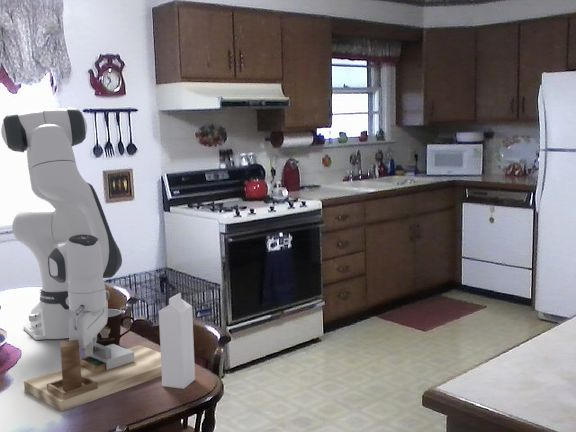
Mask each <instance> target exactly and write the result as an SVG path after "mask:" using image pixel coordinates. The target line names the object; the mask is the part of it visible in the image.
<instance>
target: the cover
mask: <svg viewBox="0 0 576 432" xmlns="http://www.w3.org/2000/svg"><path fill="white" fill-rule="evenodd" d="M128 349H129V348H125V347H122V346H120V345H119V346H118V345H115V344H111V345H108V346H103V345H100V344H98V343H96V351H95V353H94V354H93V355H92V356H90V357H93V358H95V359H98V360H100V361H102V362H105V363H106V370H109V369H112V368H115V367H118V366H121V365H124V364H127V363H131V362H134V361H135V357H134V352H133V351H131V350H128ZM85 356H86V355H85ZM86 357H89V356H86ZM86 357H85V358H86Z"/></svg>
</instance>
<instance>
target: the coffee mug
mask: <svg viewBox="0 0 576 432" xmlns="http://www.w3.org/2000/svg"><path fill="white" fill-rule="evenodd" d="M122 313H123V312H122V310H120V309H116V308H114V309H113V308H108V319H107V324H106V325H105V326H104V328H103V329H102V330H101V331H100V332H99V333H98V334H97V341H96V343H98V344H100V345H103V346H108V345H111V344H115V345H118V346H120V345H121V344H120V343H121V338H122V337H123V336H125V335H126V334H127V333H130V331H131V330H132V329H134V328H135V326H136V325H135V324H136V320H135V318H134V317H133V316H129V315H126V316H124V317H122ZM126 319H130V320H131V321H132V323H133V324H132V325H131V327H130V328H128V329H127V330H126V331H124V332H123V333H121V326H122V324H123V322H124V321H125V320H126Z"/></svg>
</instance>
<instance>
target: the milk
mask: <svg viewBox="0 0 576 432" xmlns="http://www.w3.org/2000/svg"><path fill="white" fill-rule="evenodd" d="M193 318H194V316H193V305H191V304H190V303H188V302H187V301H185V300H184V299H182V293H181V292H179V293H177V294H175V295H173V296H171V297H170V298H169V299H168V305H166V306H164V307H162V309H160V310H158V320H159V321H158V323H159V325H158V327H159V342H160V343H159V344H160V345H159V346H160V353H161V370H162V376H161V385H162V387H164V388H165V387H167V388H175V389H183V390H184V389H186V388H187V387H188V386H189V385H190V384H191V383H193V382H194V381H195V380H196V368H195V366H196V365H195V347H194V345H195V344H194V324H193V323H194V322H193Z"/></svg>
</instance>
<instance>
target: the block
mask: <svg viewBox="0 0 576 432" xmlns="http://www.w3.org/2000/svg"><path fill="white" fill-rule="evenodd" d="M59 349H60V361H61V369H62V379H63V391H65V392H67V391H70V390H73V389H76V388H79V387H82V380H81V365H80V359H81V352H80V349H79V341H78V340H72V341H69V340H65V341H60V342H59Z"/></svg>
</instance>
